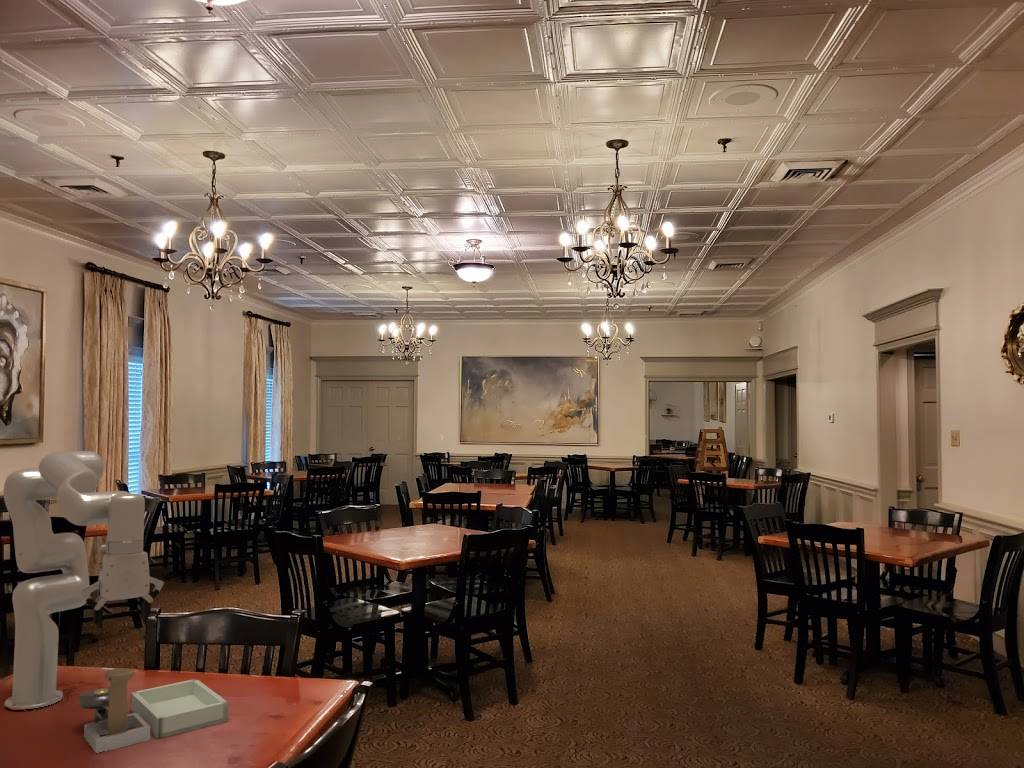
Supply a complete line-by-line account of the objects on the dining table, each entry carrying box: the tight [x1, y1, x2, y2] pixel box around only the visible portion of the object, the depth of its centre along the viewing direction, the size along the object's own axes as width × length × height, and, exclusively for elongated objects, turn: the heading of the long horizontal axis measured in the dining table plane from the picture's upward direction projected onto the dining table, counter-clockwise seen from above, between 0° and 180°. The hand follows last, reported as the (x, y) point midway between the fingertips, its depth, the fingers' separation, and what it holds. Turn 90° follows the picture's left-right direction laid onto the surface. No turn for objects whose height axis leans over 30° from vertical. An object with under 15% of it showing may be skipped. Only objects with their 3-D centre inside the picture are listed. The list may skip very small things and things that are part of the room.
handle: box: [104, 667, 135, 735], centre depth 170 cm, size 5×6×15 cm
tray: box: [129, 678, 229, 740], centre depth 183 cm, size 22×16×4 cm
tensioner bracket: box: [78, 686, 151, 754], centre depth 173 cm, size 21×11×8 cm, turn 42°
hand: (122, 622), depth 171 cm, fingers open, 9 cm apart
